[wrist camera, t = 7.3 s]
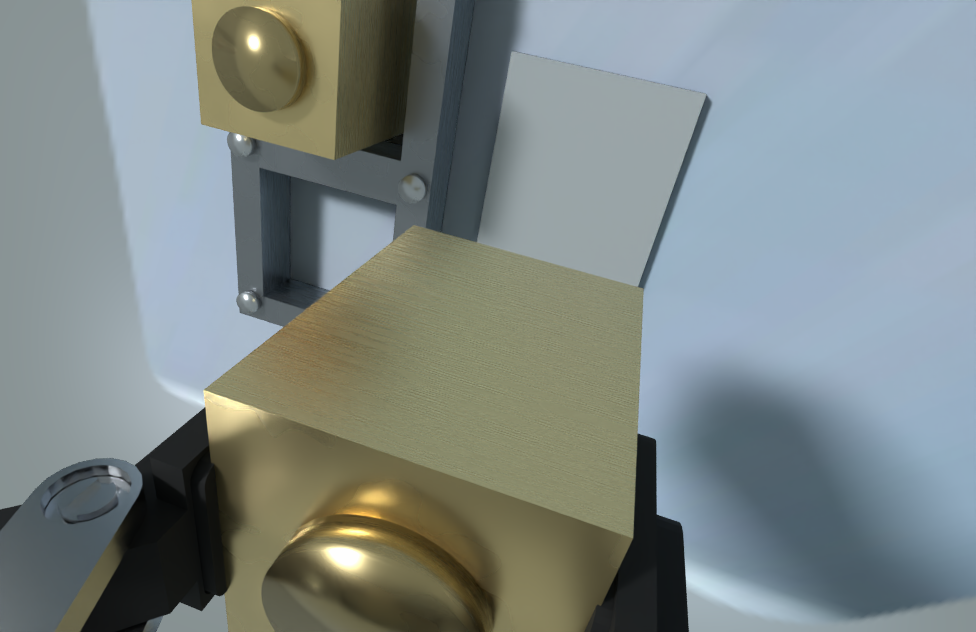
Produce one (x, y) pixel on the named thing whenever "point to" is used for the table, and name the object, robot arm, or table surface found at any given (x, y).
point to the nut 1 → (305, 70)
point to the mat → (584, 165)
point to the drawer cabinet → (353, 169)
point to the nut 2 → (432, 448)
